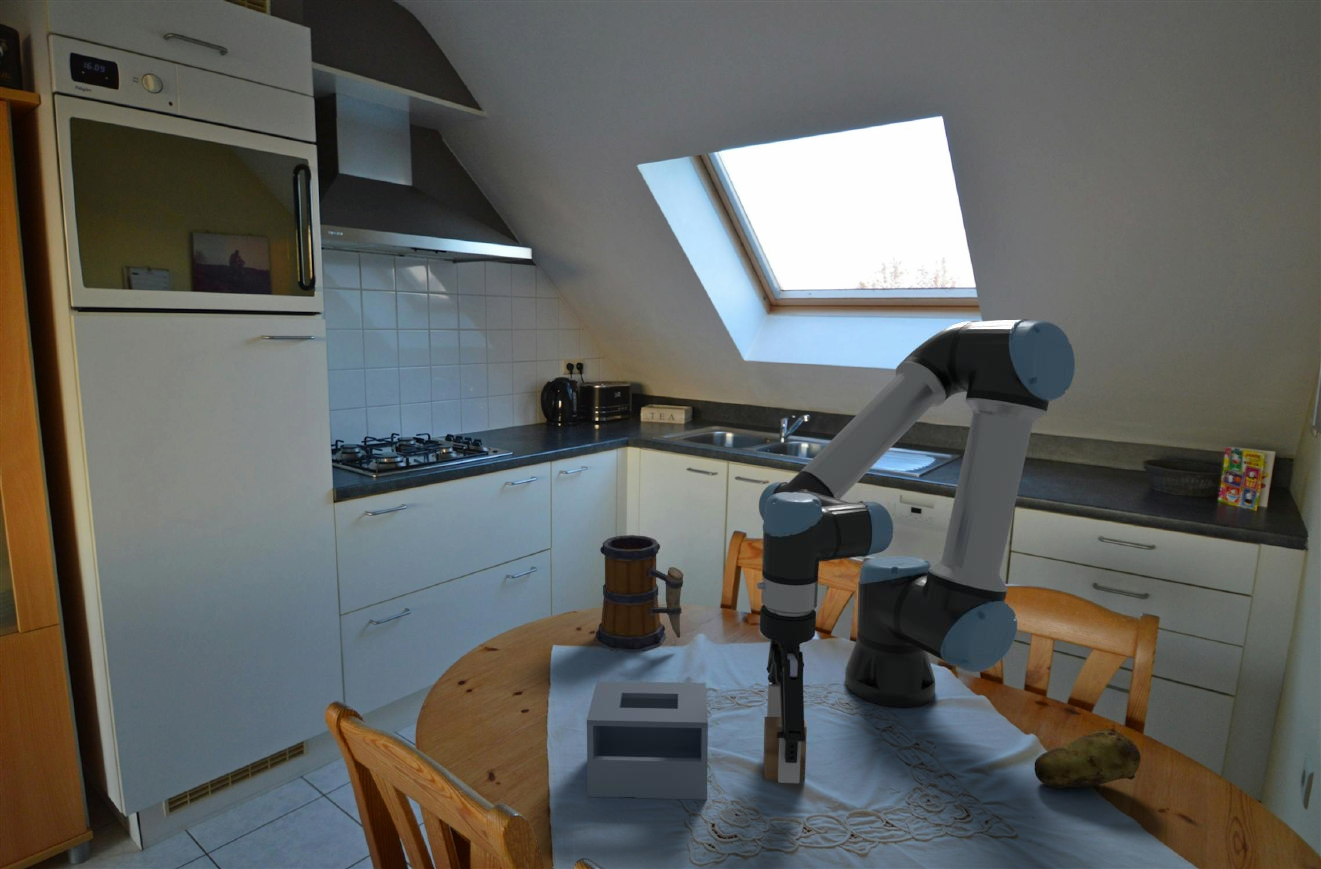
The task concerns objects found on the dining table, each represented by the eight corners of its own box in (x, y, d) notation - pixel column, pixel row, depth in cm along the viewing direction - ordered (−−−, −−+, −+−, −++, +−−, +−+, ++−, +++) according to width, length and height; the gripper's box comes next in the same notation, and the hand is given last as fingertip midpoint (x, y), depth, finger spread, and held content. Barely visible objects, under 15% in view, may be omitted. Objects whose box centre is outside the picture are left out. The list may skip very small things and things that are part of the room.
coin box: (704, 752, 109) (705, 682, 108) (706, 799, 98) (707, 722, 97) (597, 750, 110) (596, 680, 108) (587, 796, 99) (586, 719, 97)
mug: (699, 638, 150) (700, 542, 147) (662, 664, 138) (662, 561, 135) (622, 618, 160) (621, 529, 158) (580, 641, 148) (579, 545, 146)
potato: (1028, 760, 108) (1032, 708, 107) (1130, 779, 103) (1135, 725, 102) (1034, 793, 100) (1039, 738, 99) (1145, 815, 95) (1151, 758, 94)
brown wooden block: (802, 769, 105) (803, 717, 104) (804, 780, 103) (806, 727, 101) (763, 768, 105) (764, 716, 104) (765, 780, 103) (766, 726, 102)
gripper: (752, 576, 113) (747, 707, 116) (771, 643, 88) (764, 807, 91) (801, 578, 113) (795, 708, 116) (834, 645, 88) (825, 809, 91)
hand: (781, 752), depth 103 cm, fingers open, 13 cm apart
